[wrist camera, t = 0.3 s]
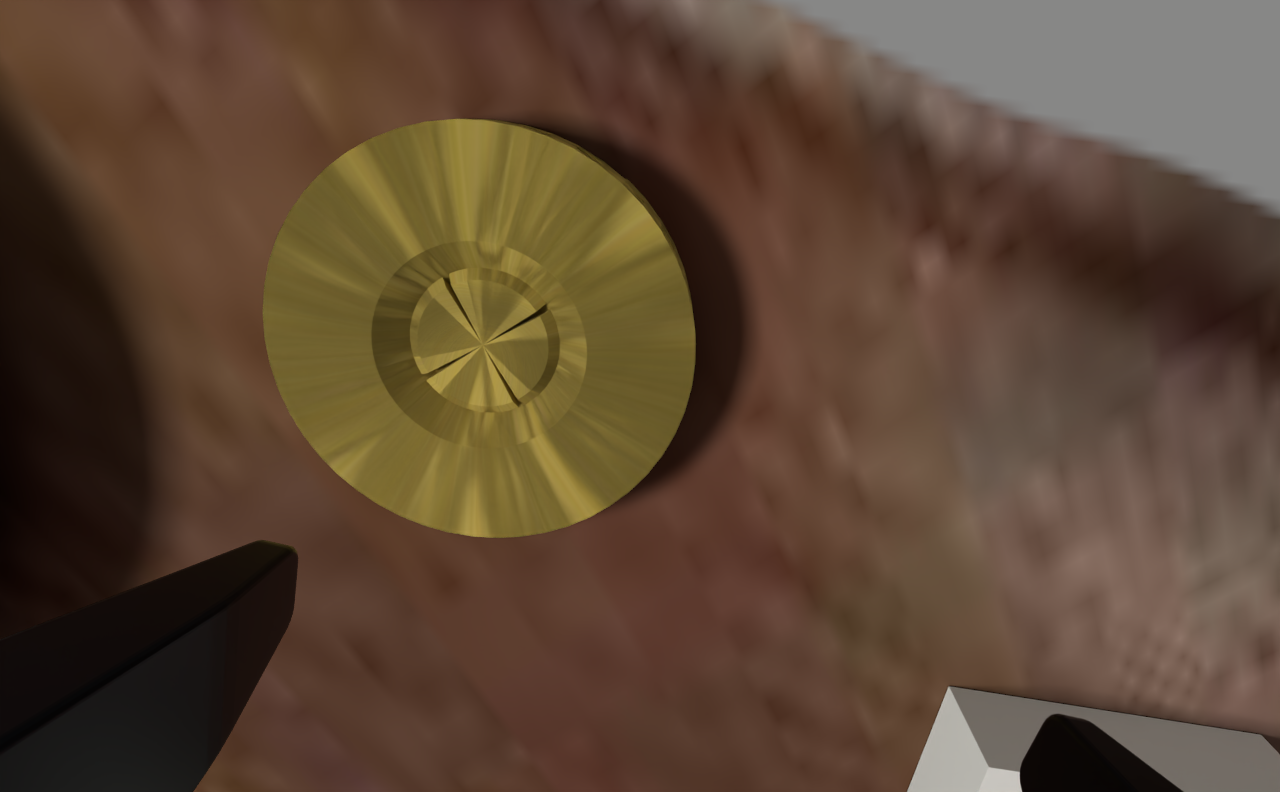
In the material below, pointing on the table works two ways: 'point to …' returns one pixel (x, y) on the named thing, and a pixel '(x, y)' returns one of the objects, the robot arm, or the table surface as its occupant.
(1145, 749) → the collar
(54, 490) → the table surface
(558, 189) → the gold flat disc
